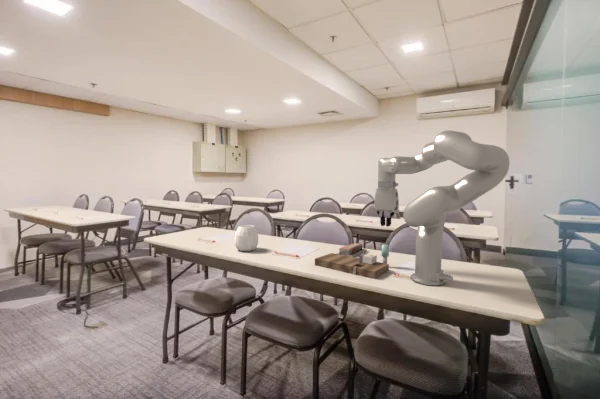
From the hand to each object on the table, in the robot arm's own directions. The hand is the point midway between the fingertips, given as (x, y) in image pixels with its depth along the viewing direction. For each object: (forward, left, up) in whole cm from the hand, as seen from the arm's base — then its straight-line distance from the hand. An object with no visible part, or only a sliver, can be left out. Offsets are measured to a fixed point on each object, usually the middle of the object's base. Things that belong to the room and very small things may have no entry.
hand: (385, 225), depth 138 cm
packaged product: (+24, -12, -20) cm, 34 cm away
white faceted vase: (+73, +20, -19) cm, 78 cm away
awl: (0, 0, -19) cm, 19 cm away
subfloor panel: (+11, +12, -19) cm, 25 cm away
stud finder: (+4, +8, -16) cm, 18 cm away
